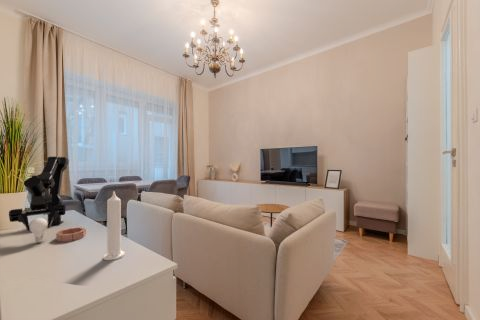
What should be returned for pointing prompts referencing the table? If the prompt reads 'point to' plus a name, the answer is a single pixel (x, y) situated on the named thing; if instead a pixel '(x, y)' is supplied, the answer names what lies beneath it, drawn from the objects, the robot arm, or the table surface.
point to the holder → (70, 234)
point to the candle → (114, 229)
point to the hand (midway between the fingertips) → (38, 228)
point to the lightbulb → (38, 228)
